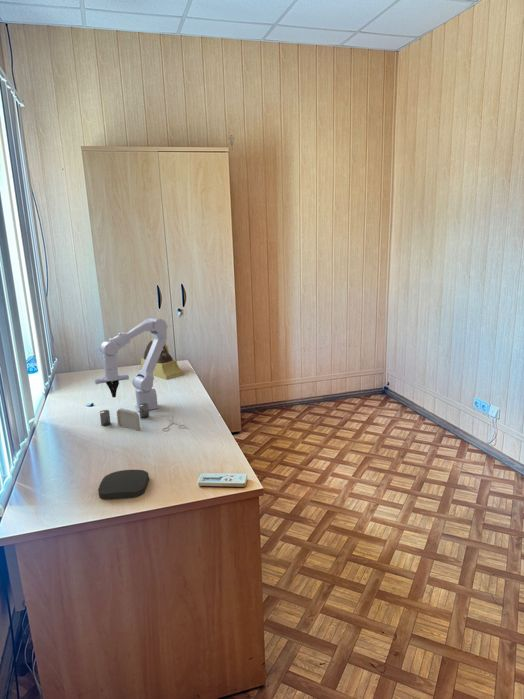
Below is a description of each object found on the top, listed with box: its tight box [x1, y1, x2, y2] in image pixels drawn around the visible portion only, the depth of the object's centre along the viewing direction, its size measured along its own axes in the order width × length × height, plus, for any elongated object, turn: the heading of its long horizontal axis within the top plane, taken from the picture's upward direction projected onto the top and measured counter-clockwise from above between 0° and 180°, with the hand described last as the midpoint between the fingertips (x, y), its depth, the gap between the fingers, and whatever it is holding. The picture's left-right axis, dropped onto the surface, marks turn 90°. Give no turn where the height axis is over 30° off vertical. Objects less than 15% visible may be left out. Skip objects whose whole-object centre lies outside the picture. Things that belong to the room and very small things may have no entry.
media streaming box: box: [97, 469, 150, 501], centre depth 153 cm, size 15×15×3 cm
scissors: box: [162, 414, 190, 432], centre depth 206 cm, size 11×1×20 cm
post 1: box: [99, 409, 112, 427], centre depth 206 cm, size 4×4×6 cm
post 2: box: [139, 403, 150, 420], centre depth 213 cm, size 4×4×6 cm
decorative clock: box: [138, 334, 185, 380], centre depth 282 cm, size 28×13×30 cm, turn 46°
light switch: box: [116, 408, 141, 432], centre depth 202 cm, size 2×12×8 cm, turn 58°
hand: (114, 396), depth 214 cm, fingers closed
